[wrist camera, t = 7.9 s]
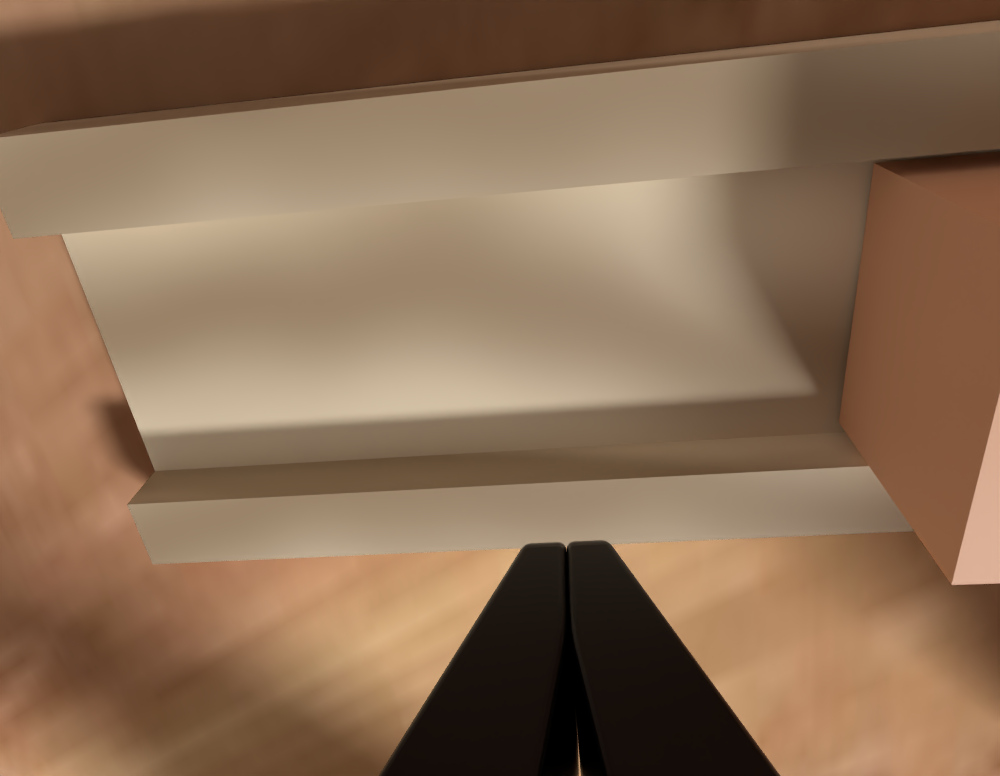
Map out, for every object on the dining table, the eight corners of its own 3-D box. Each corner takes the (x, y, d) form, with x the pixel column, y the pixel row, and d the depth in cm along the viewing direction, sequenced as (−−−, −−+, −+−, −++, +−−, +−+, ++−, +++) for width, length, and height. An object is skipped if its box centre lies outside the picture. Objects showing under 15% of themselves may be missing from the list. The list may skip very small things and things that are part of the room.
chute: (942, 474, 16) (987, 528, 14) (188, 511, 17) (152, 564, 16) (1043, 15, 11) (1124, 18, 10) (40, 123, 13) (-30, 141, 11)
